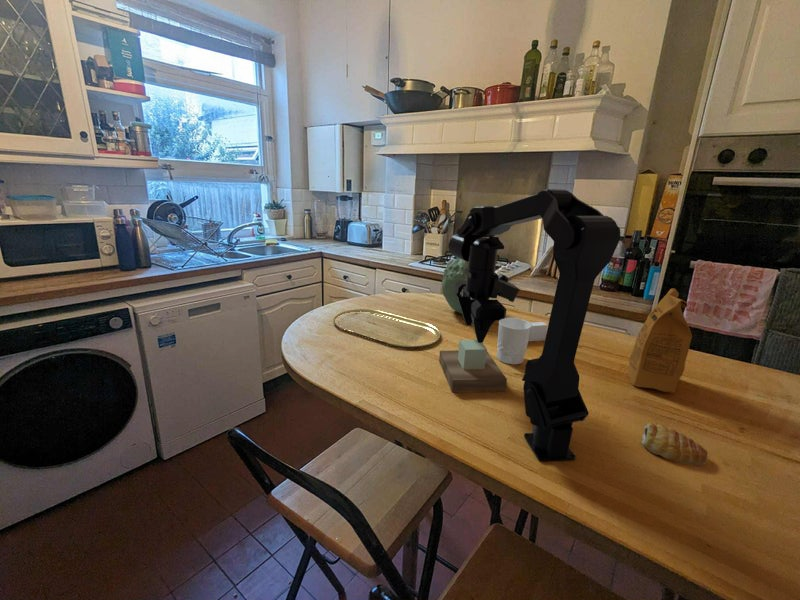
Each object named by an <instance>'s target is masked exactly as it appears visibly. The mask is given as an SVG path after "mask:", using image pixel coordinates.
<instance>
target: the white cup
mask: <svg viewBox="0 0 800 600" xmlns="http://www.w3.org/2000/svg"><path fill="white" fill-rule="evenodd" d="M529 322H530V321H527V320H525V319H522V318H517V317H505V319H501V320H499V321H498V329H497V330H498V331H497V332H498V333H497V341H496V342H497V343H496V344H497V345H496V348H497V350H496V351H497V352H496V358H497V359H498V361H500V362H502V363H504V364H508V365H521V364H522V363H523V362H524V361H525V357H526V356H525V355H526V352H527V348H528V345H529V342H530V341H529V336H530V331H531V327H532V325H531V324H530V323H531V322H530V323H529Z"/></svg>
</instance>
